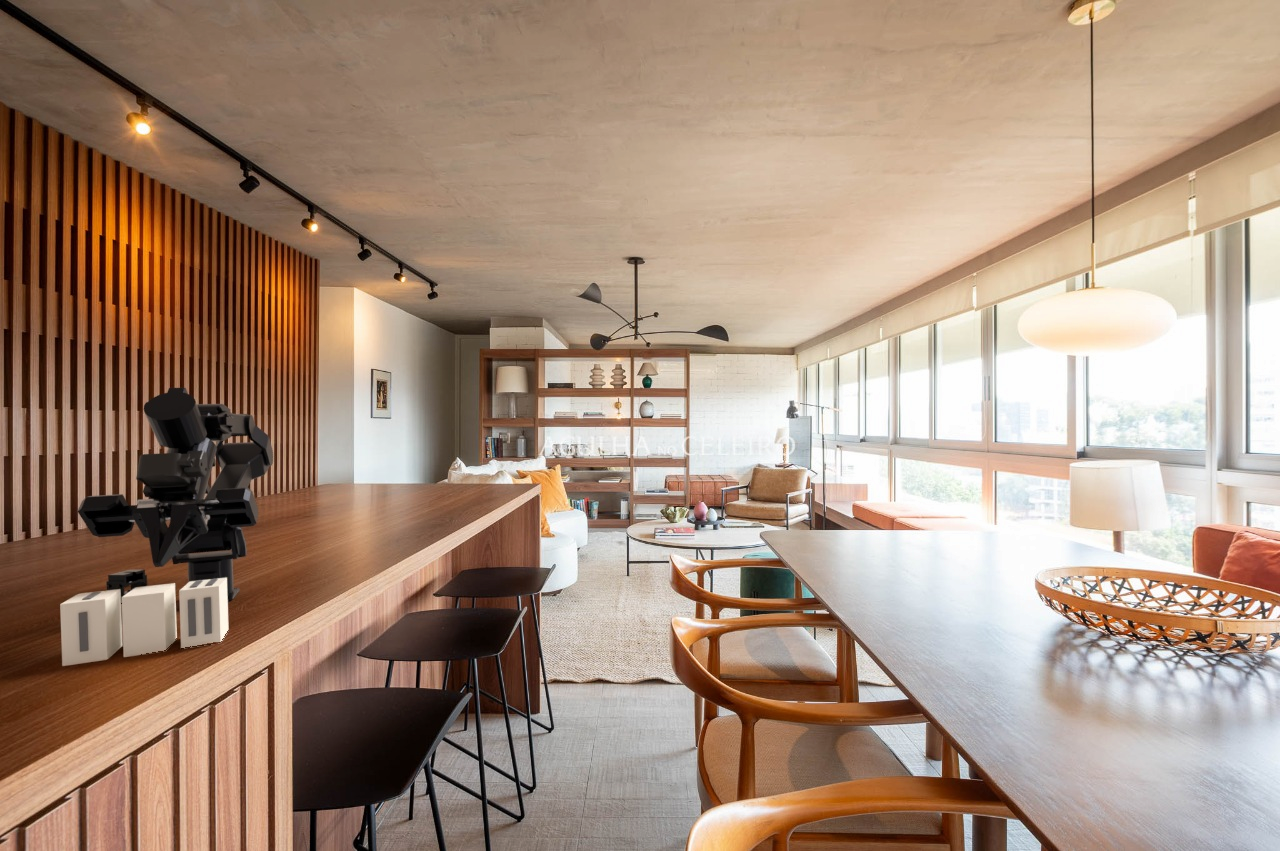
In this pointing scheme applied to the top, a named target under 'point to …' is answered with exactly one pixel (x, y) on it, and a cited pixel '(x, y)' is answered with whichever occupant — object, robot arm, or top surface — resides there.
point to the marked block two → (203, 612)
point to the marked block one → (91, 627)
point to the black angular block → (126, 580)
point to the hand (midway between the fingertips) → (157, 565)
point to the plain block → (149, 619)
